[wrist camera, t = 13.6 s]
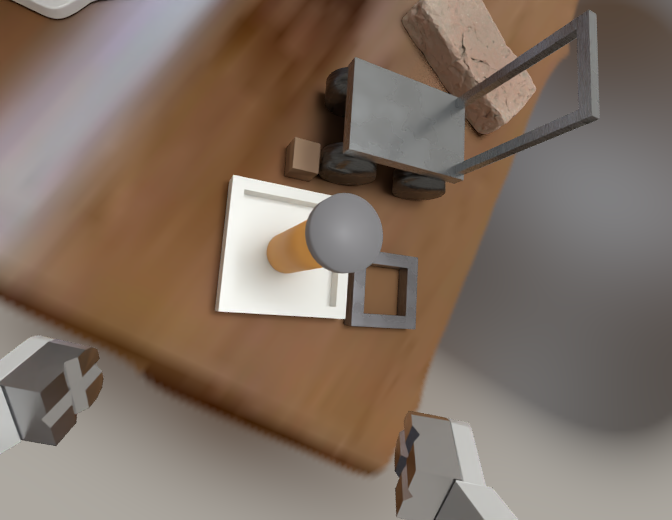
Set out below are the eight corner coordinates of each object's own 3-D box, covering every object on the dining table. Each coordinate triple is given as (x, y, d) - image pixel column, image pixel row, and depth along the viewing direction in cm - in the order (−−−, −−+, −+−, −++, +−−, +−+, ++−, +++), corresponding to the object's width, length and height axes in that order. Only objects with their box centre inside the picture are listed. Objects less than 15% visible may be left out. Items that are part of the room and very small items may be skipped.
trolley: (310, 177, 36) (450, 66, 19) (317, 90, 37) (455, -90, 20) (422, 203, 41) (609, 134, 24) (425, 126, 42) (605, 9, 25)
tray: (214, 310, 31) (218, 311, 29) (229, 181, 32) (233, 175, 30) (335, 318, 35) (345, 318, 34) (343, 205, 37) (352, 200, 35)
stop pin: (253, 272, 32) (303, 260, 21) (267, 219, 33) (321, 181, 22) (305, 286, 34) (375, 281, 23) (316, 235, 35) (388, 207, 24)
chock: (284, 175, 34) (292, 167, 32) (286, 147, 35) (295, 137, 33) (308, 181, 35) (318, 173, 33) (310, 153, 36) (320, 143, 34)
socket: (343, 324, 36) (351, 325, 34) (348, 250, 37) (355, 248, 35) (406, 328, 39) (415, 329, 37) (409, 259, 40) (417, 257, 38)
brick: (396, 23, 42) (423, -8, 38) (436, -7, 46) (465, -38, 41) (476, 142, 46) (508, 126, 42) (508, 107, 49) (541, 89, 45)
